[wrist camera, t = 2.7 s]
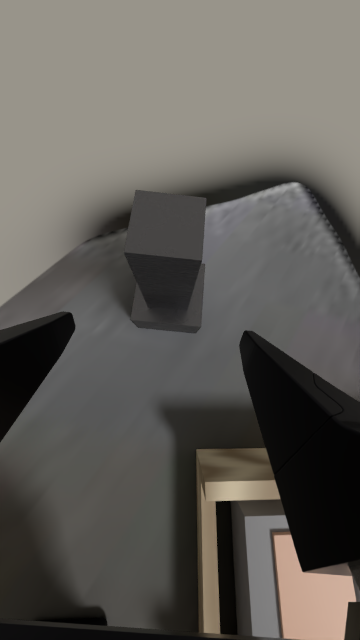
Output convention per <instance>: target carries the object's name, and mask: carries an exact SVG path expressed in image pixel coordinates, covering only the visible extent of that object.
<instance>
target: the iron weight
mask: <svg viewBox="0 0 360 640" xmlns="http://www.w3.org/2000/svg"><path fill="white" fill-rule="evenodd" d="M205 210H206V198H201V197H193V196H184V195H175V194H167V193H158V192H148V191H141V190H136V192H135V197H134V202H133V207H132V213H131V217H130V223H129V228H128V233H127V238H126V243H125V249H124V254H125V256H126V258H127V261H128V263H129V265H130V267H131V270H132V272H133V274H134V277H135V279H136V281H137V282H136V289H135V295H134V301H133V307H132V313H131V319H130V320H131V321H132V322H133V323H134V324H135V325H136V326H137V327H138V328H146V329H156V330H166V331H176V332H186V333H197V331H198V330H199V329H200V328H201V320H202V304H203V289H204V273H205V264H201V262H202V254H203V239H204V225H205Z"/></svg>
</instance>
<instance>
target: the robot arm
mask: <svg viewBox="0 0 360 640" xmlns="http://www.w3.org/2000/svg"><path fill="white" fill-rule="evenodd" d="M74 331H75V323H74V319H73V315H72V313H70V312H59V313H56V314H53V315H49V316H46V317H43V318H39V319H36V320H33V321H29V322H26V323H23V324H19V325H16V326H13V327H9V328H6V329H3V330H0V442H1V441H2V439H3V438H4V436H5V435H6V433H7V432H8V431H9V429H10V428H11V426H12V425H13V423H14V422H15V421H16V419H17V418H18V416H19V415H20V413H21V412H22V410H23V409H24V408H25V406H26V405H27V403H28V402H29V400H30V399H31V398H32V396H33V395H34V393H35V392H36V390H37V389H38V388H39V386H40V385H41V383H42V382H43V380H44V379H45V377H46V376H47V375H48V373H49V372H50V370H51V369H52V367H53V366H54V365H55V363H56V362H57V360H58V359H59V357H60V356H61V354H62V353H63V351H64V349H65V347H66V345H67V344H68V342H69V340H70V338H71V336H72V334H73V333H74ZM239 347H240V353H241V359H242V365H243V371H244V375H245V379H246V382H247V385H248V389H249V392H250V396H251V399H252V403H253V406H254V409H255V413H256V416H257V420H258V423H259V427H260V430H261V433H262V437H263V440H264V444H265V447H266V451H267V454H268V457H269V461H270V464H271V468H272V471H273V474H274V478H275V482H276V485H277V489H278V492H279V496H280V499H281V502H282V506H283V509H284V513H285V516H286V520H287V523H288V526H289V530H290V533H291V537H292V540H293V544H294V547H295V550H296V554H297V557H298V561H299V564H300V567H301V570H302V572H304V573H316V574H329V575H342V576H353V578H354V580H355V582H356V584H357V586H358V589H359V591H360V402H359V401H357V400H355V399H354V398H352V397H350V396H349V395H347V394H346V393H344V392H342V391H341V390H339V389H338V388H336V387H335V386H333V385H332V384H330V383H328V382H327V381H325V380H324V379H322V378H321V377H320V376H318V375H317V374H315V373H313V372H312V371H311V370H309V369H308V368H306V367H305V366H303V365H302V364H300V363H299V362H297V361H296V360H294V359H293V358H291V357H290V356H289V355H287V354H286V353H284V352H283V351H281V350H280V349H278V348H277V347H275V346H274V345H272V344H271V343H269V342H268V341H266V340H265V339H264V338H262V337H261V336H259V335H258V334H256V333H255V332H253V331H247V330H246V331H244V332H243V335H242V338H241V341H240V345H239ZM0 640H300V639H286V638H271V637H257V636H243V635H228V634H214V633H200V632H185V631H171V630H157V629H143V628H128V627H114V626H107V621H106V619H105V618H84V619H66V620H48V621H28V620H14V619H0ZM344 640H360V602H348V609H347V618H346V627H345V637H344Z"/></svg>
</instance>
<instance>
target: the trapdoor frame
mask: <svg viewBox="0 0 360 640" xmlns="http://www.w3.org/2000/svg"><path fill="white" fill-rule="evenodd" d="M196 478H197V546H198V613H199V632H200V633H214V634H220V615H219V587H218V559H217V531H216V503H215V501H234V500H270V499H280V496H279V492H278V489H277V485H276V482H275V478H274V474H273V471H272V468H271V464H270V461H269V457H268V454H267V451H266V448H239V449H196Z"/></svg>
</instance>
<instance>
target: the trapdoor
mask: <svg viewBox="0 0 360 640" xmlns="http://www.w3.org/2000/svg"><path fill="white" fill-rule="evenodd" d="M231 518H232V537H233V556H234V575H235V594H236V613H237V633H238V635H243V636H257V637H271V638H286V639H300V640H344V637H345V627H346V618H347V609H348V602H360V591H359V589H358V586H357V584H356V582H355V580H354V578H353V576H342V575H329V574H316V573H304V572H302V570H301V567H300V564H299V561H298V557H297V554H296V550H295V547H294V544H293V540H292V537H291V533H290V530H289V526H288V523H287V520H286V516H285V513H284V509H283V506H282V502H281V499H270V500H234V501H231Z"/></svg>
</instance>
